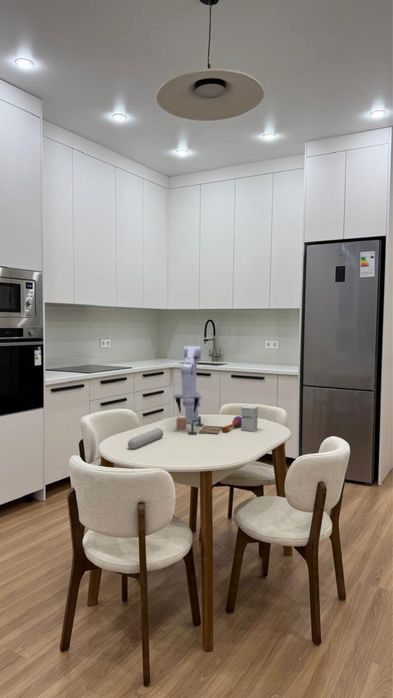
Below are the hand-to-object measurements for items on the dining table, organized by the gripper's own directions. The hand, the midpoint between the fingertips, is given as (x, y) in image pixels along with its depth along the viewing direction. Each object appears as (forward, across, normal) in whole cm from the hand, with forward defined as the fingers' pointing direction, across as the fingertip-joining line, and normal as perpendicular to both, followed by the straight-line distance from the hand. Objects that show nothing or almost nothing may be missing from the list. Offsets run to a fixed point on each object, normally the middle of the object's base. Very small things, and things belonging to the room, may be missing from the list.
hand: (187, 412), depth 251 cm
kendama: (+10, +24, +6) cm, 27 cm away
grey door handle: (+10, +5, +3) cm, 11 cm away
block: (+10, -3, +4) cm, 11 cm away
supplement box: (+10, +33, +4) cm, 35 cm away
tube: (+11, -19, -26) cm, 34 cm away
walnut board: (+10, +13, +2) cm, 16 cm away
